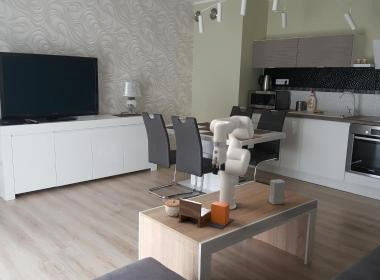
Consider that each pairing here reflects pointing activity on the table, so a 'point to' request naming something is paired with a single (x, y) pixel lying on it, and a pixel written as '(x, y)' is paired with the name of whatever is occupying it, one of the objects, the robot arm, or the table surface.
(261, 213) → the table surface
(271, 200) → the cosmetic box
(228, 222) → the mat
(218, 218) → the block
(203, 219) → the wooden toy chair
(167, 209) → the trinket box
